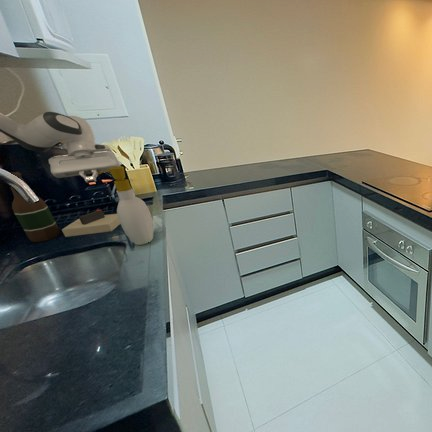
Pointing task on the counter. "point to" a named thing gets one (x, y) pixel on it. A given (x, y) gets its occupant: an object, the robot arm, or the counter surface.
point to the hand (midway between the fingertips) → (90, 181)
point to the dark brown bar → (91, 217)
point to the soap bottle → (131, 210)
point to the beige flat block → (92, 226)
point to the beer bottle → (34, 217)
